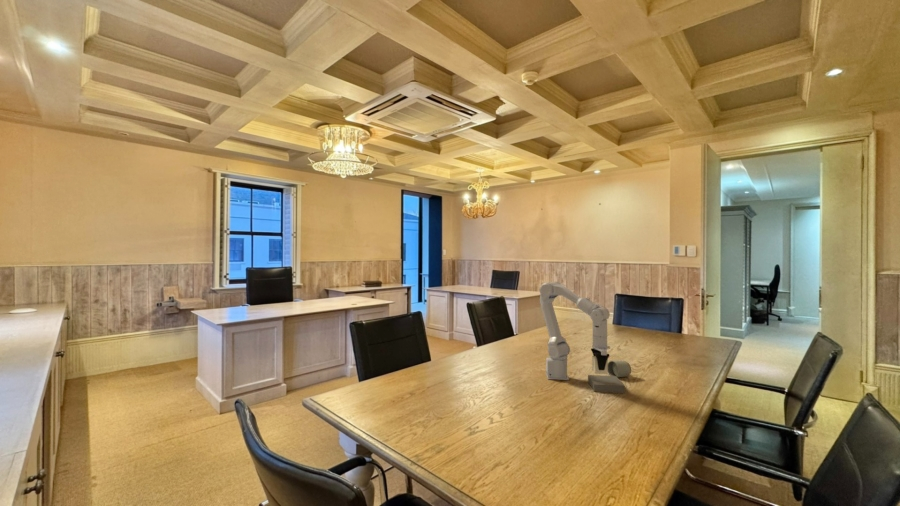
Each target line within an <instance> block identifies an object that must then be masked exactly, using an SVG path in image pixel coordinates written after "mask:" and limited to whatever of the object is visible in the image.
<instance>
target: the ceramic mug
mask: <svg viewBox="0 0 900 506" xmlns="http://www.w3.org/2000/svg"><path fill="white" fill-rule="evenodd" d="M629 363H630V362H628V361H625V360H610V361H608V376H616V377H617V378H618V379H619V378H626V377H629V376H630V375H631V373H632V367H631V365H630V364H629Z"/></svg>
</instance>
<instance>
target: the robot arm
mask: <svg viewBox="0 0 900 506" xmlns="http://www.w3.org/2000/svg"><path fill="white" fill-rule="evenodd" d="M538 290H539V293H540V296H539V305H540V308H541V312H542V316H543V319H544V322H545V325H546V330H547V333H548V336H549V340H548V342H547V353H548V356H549V357H546V359H545V376H546V378H547V379H548V380H560V381H569V380H570V378H569V376H568V355H569V354H570V352H571V348H570V345H569V344H568V343H567V340H566V338H565V337H564V336H562V333H561V330H560V326H559V322H558V318H557V315H556V313H555V309H554V308H555V307H554V305H553V302H554V301H555V299H556V298H557V297H559V296H562V297H564V298H565V299H567V300H569V301H570V302H573V304H576V307H577V309H579V310H580V311H582V312H583V313H585V314H586V315H588V316H589V317H590V319H591V320H592V345H591V348H590V351H591V353H592V356H596V358H597V362H598V368H599V370H604V369H605V366H606V362H607V360H608V359H609V358H610V353H608V350H609V349H611V346H610V345H608V319H609V318H610V311H609V309H608V308H607V307H606V306H600V304H598V303H595V302H593V301H592V300H591V298H589V297H585V296H583V297H580V295H578V294H576V293H574V291H572V290H571V289H570V288H568V287H566V285H564V284H563V283H561V282H559V281H553V282H544V283H542V284H541V286H540V288H539V289H538Z"/></svg>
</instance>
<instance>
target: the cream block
mask: <svg viewBox="0 0 900 506" xmlns="http://www.w3.org/2000/svg"><path fill="white" fill-rule="evenodd" d="M591 356H592V357H591V358H592V359H591V362H592V363H591V368H592V369H591V370H592V371H593V373H594V374H595V375H609V373H608V362H609V361H608V359H607V362H606V366H605V369H604V370H599V368H598V362H597V358H596V356H593V355H591Z"/></svg>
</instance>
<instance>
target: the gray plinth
mask: <svg viewBox="0 0 900 506" xmlns="http://www.w3.org/2000/svg"><path fill="white" fill-rule="evenodd" d="M588 382H589V383H588ZM587 383H588V384H589V386H590V385H591V386H590V387H591V389H592V390H593V392H596V393H612V394H613V393H614V394H625V393H626V386H625V384H624V383H623V382H622V381H621V379H619V377H618V378H617V377H616V376H610V375H601V374H595V375H594V374H587Z"/></svg>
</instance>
